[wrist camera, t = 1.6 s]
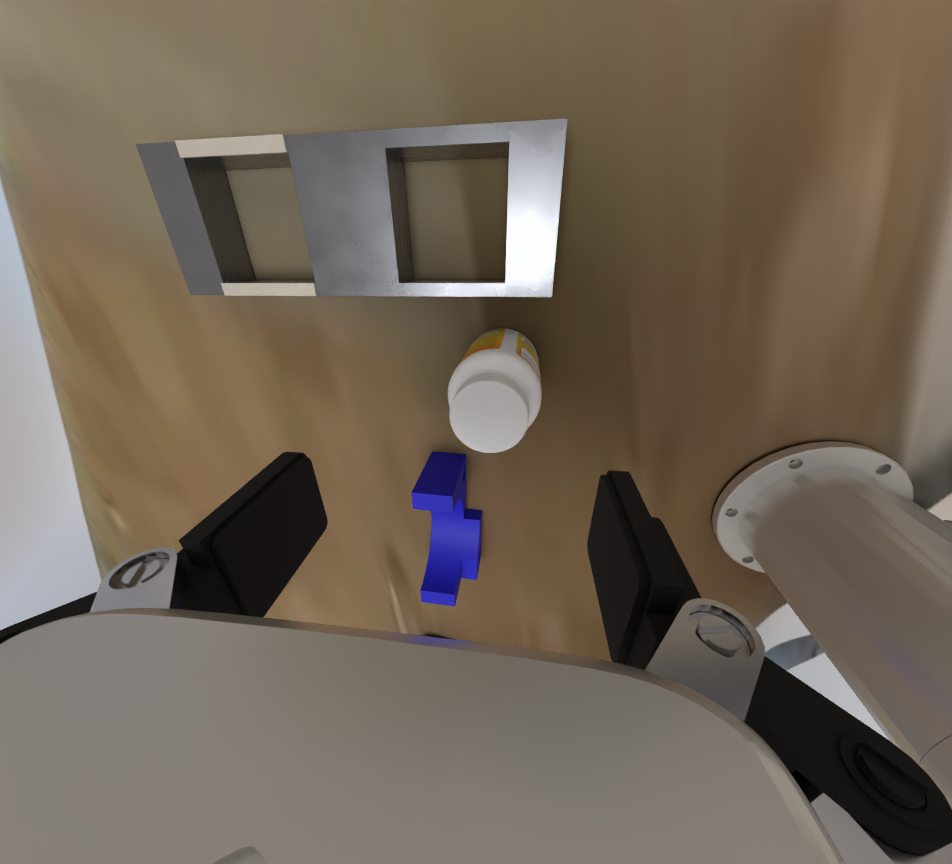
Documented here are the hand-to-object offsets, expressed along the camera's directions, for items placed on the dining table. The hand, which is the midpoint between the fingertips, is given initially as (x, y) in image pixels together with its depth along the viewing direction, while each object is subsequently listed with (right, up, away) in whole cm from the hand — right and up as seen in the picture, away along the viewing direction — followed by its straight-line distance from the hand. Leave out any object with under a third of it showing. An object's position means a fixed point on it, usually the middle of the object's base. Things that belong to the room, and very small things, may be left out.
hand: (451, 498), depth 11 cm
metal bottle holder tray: (-6, +16, +11) cm, 20 cm away
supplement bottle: (+3, +7, +15) cm, 17 cm away
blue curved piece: (-1, -5, +22) cm, 22 cm away
